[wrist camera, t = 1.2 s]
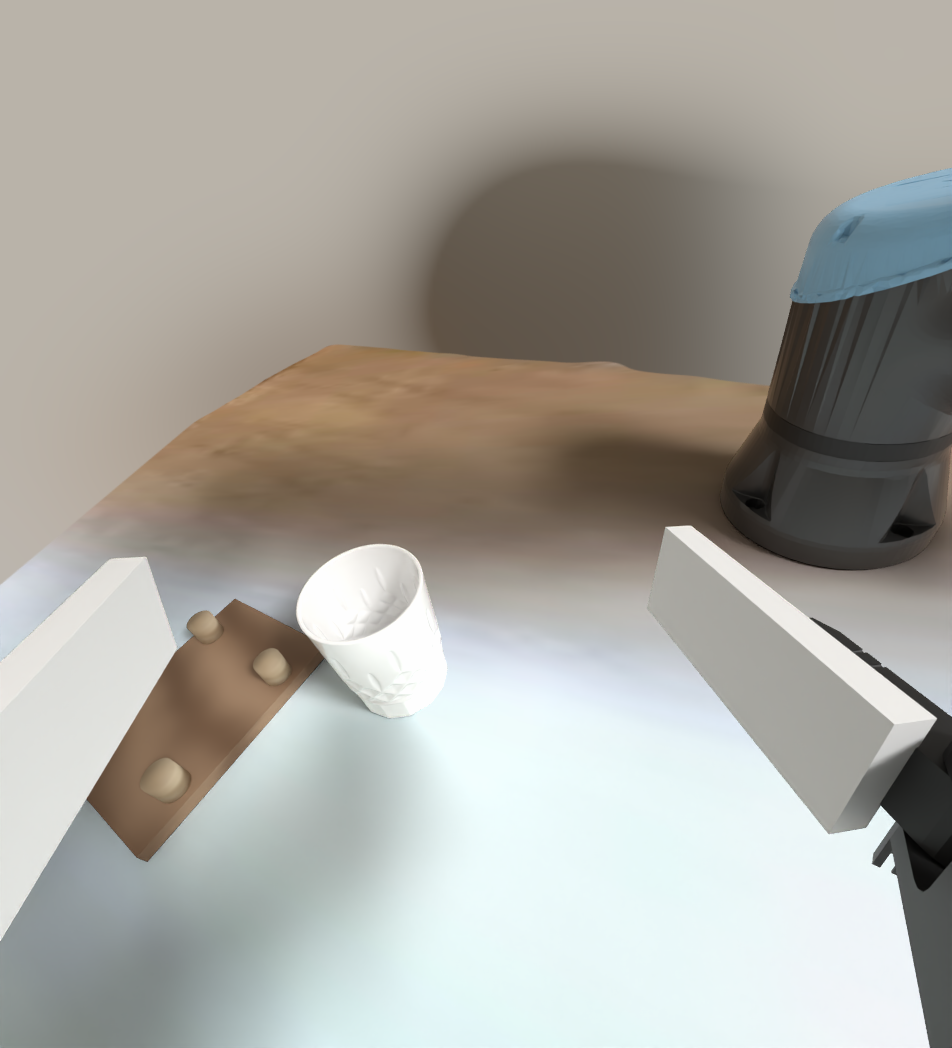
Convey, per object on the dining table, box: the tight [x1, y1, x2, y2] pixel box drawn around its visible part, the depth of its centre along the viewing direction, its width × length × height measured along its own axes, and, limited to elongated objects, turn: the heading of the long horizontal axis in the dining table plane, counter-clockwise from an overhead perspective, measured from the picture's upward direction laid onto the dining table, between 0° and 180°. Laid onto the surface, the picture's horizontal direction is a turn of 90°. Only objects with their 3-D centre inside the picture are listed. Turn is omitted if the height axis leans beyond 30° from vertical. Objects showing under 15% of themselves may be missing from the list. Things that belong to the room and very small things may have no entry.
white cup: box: [296, 544, 448, 719], centre depth 32 cm, size 8×8×10 cm
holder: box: [87, 599, 324, 862], centre depth 35 cm, size 16×12×3 cm
